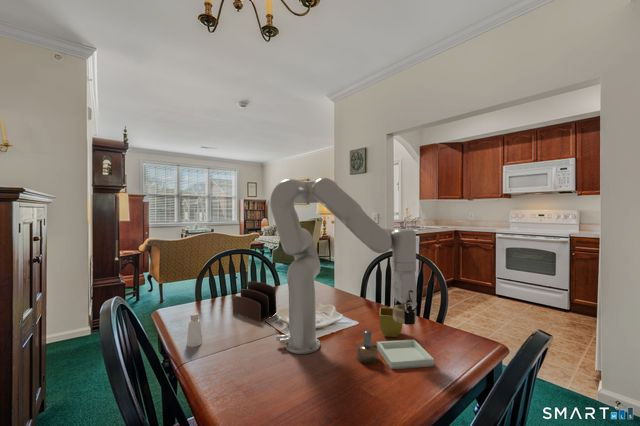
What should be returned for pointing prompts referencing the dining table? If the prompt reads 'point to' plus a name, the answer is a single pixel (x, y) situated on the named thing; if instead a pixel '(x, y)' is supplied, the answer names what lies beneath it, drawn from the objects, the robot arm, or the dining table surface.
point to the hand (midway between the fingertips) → (404, 319)
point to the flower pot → (389, 323)
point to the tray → (404, 354)
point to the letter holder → (256, 301)
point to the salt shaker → (194, 331)
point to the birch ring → (400, 313)
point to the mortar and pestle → (367, 350)
